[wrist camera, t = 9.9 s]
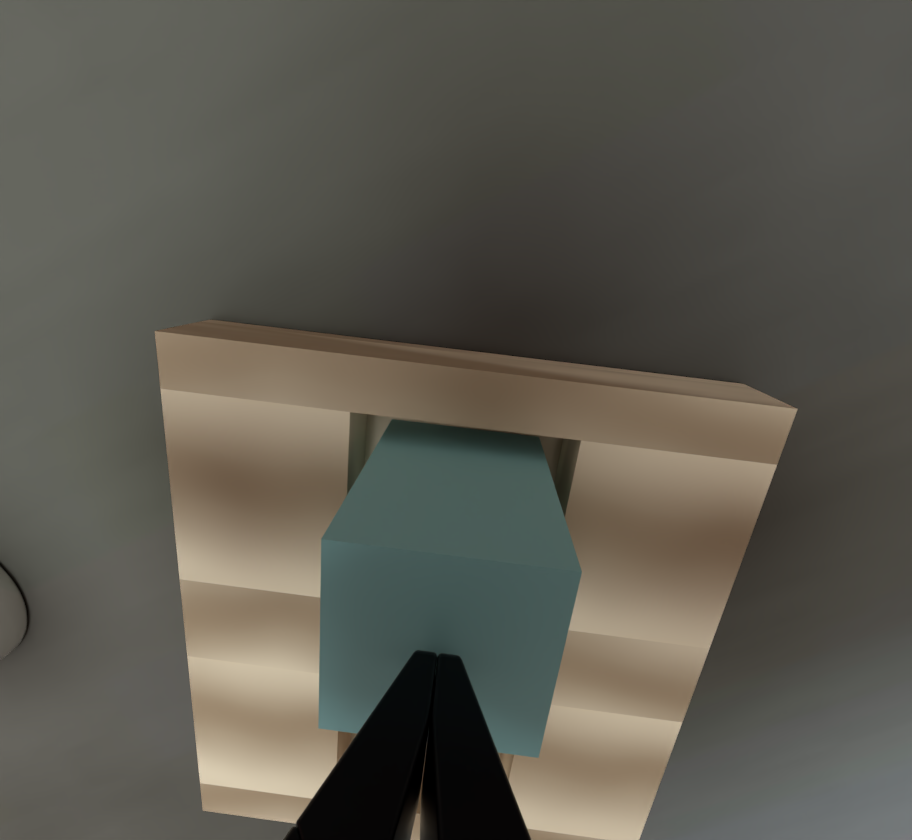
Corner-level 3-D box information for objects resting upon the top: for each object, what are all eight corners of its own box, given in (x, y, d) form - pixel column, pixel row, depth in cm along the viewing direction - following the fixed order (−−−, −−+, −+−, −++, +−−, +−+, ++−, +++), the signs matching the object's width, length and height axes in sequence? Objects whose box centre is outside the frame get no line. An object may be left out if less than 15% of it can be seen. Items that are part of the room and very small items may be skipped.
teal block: (516, 561, 16) (538, 758, 9) (383, 544, 16) (318, 728, 9) (538, 436, 14) (582, 572, 8) (392, 419, 14) (321, 539, 8)
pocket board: (610, 796, 20) (628, 870, 17) (236, 745, 20) (202, 810, 17) (743, 383, 14) (797, 408, 11) (210, 319, 14) (154, 330, 12)
